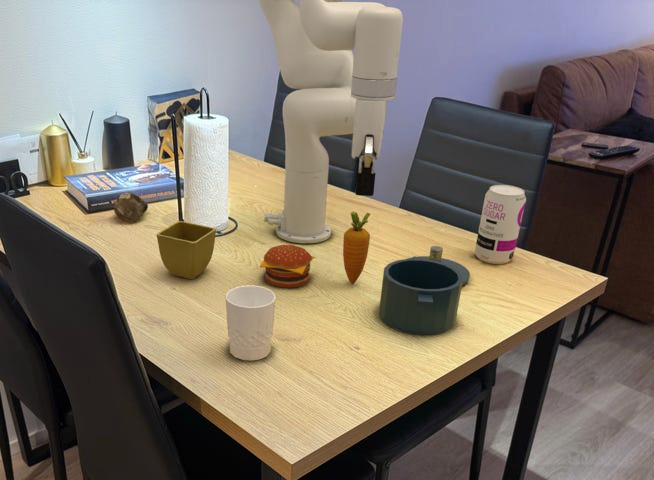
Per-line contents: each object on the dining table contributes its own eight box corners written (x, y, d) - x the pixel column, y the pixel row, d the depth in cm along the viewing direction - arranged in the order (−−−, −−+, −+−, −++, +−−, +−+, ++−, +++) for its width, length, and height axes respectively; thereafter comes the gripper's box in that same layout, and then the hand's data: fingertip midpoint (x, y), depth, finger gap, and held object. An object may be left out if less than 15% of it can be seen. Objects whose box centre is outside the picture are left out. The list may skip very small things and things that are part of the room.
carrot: (364, 279, 138) (372, 207, 131) (365, 290, 134) (373, 216, 126) (340, 277, 139) (346, 205, 131) (339, 288, 135) (345, 214, 127)
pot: (379, 339, 118) (384, 294, 113) (378, 291, 134) (383, 250, 129) (459, 346, 117) (468, 301, 112) (449, 296, 133) (457, 255, 128)
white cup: (225, 339, 117) (224, 285, 111) (271, 338, 117) (273, 284, 112) (226, 363, 110) (226, 307, 105) (275, 362, 110) (277, 307, 105)
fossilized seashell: (126, 198, 170) (101, 216, 163) (133, 178, 165) (109, 197, 158) (150, 216, 170) (127, 236, 163) (158, 198, 165) (135, 217, 158)
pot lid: (397, 288, 135) (401, 259, 132) (395, 259, 148) (399, 232, 145) (473, 293, 134) (478, 265, 131) (464, 264, 146) (469, 237, 143)
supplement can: (513, 253, 152) (528, 186, 144) (511, 267, 145) (527, 198, 137) (475, 248, 154) (488, 182, 146) (472, 261, 147) (485, 193, 140)
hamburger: (315, 272, 141) (317, 242, 137) (302, 292, 133) (304, 260, 129) (271, 265, 143) (272, 235, 139) (256, 284, 135) (257, 253, 132)
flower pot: (217, 269, 141) (217, 227, 136) (196, 286, 134) (194, 242, 129) (180, 261, 144) (179, 220, 139) (157, 277, 137) (155, 234, 132)
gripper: (352, 79, 125) (345, 173, 134) (350, 96, 110) (342, 200, 119) (393, 80, 124) (384, 175, 133) (397, 98, 110) (386, 203, 118)
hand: (364, 187), depth 126 cm, fingers open, 9 cm apart
